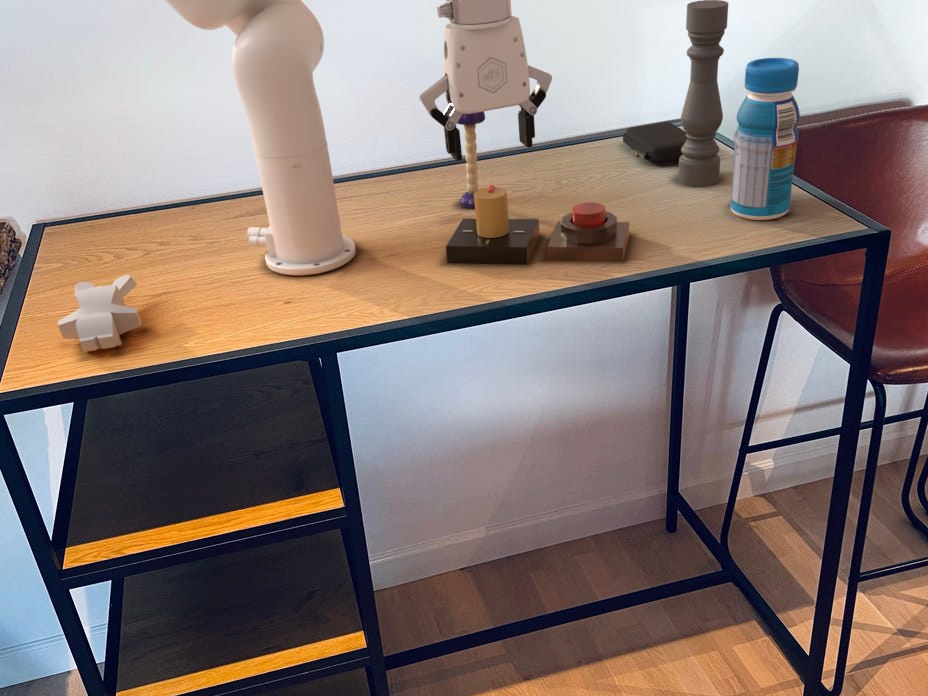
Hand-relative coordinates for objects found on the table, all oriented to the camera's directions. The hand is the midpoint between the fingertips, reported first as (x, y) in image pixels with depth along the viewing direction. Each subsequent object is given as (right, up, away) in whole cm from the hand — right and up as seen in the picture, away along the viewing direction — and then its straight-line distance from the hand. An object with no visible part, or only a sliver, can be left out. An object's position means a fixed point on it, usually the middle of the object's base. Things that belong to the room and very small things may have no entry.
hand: (491, 151), depth 129 cm
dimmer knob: (0, -9, +6) cm, 11 cm away
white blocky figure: (-49, -24, -4) cm, 54 cm away
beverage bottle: (+38, -5, +12) cm, 40 cm away
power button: (+13, -9, +3) cm, 16 cm away
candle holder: (+32, +3, +24) cm, 40 cm away
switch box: (+13, -11, +5) cm, 18 cm away
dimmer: (0, -11, +7) cm, 13 cm away
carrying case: (+28, +11, +36) cm, 47 cm away
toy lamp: (-2, -1, +22) cm, 23 cm away
